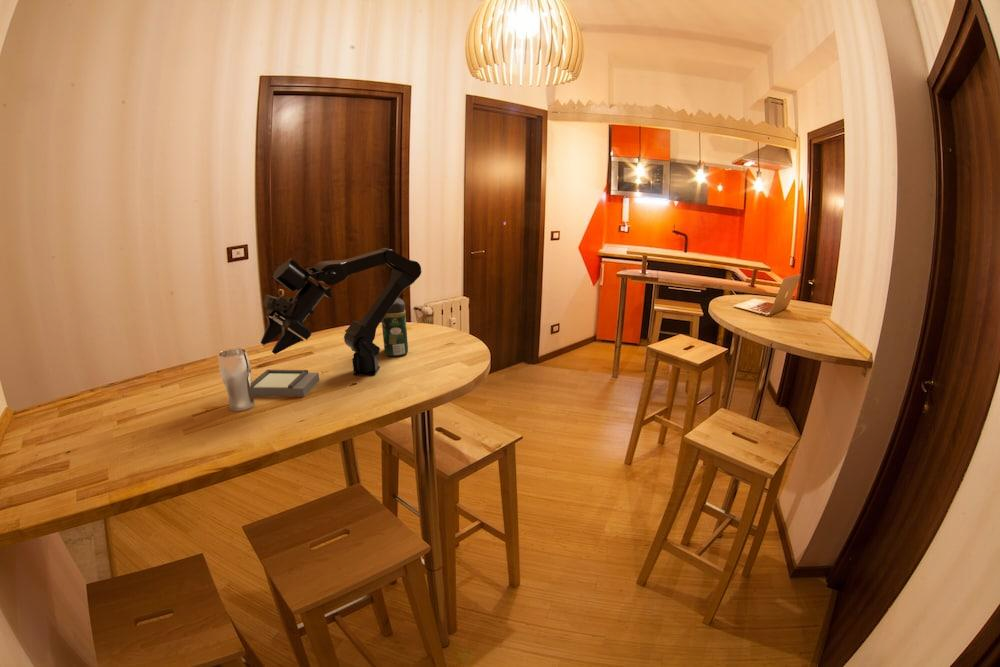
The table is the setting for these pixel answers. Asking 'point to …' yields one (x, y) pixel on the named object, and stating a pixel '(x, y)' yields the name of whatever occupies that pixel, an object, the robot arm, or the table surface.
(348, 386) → the table surface
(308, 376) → the dock
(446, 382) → the table surface
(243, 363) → the beer glass
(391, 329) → the coffee jar
